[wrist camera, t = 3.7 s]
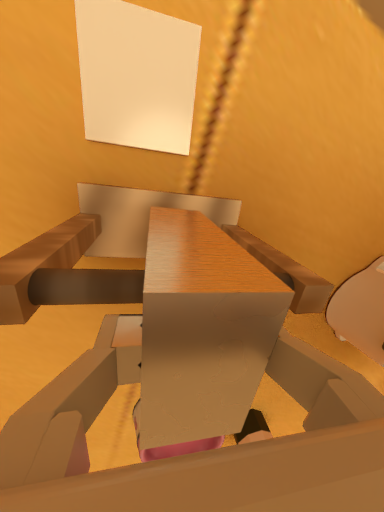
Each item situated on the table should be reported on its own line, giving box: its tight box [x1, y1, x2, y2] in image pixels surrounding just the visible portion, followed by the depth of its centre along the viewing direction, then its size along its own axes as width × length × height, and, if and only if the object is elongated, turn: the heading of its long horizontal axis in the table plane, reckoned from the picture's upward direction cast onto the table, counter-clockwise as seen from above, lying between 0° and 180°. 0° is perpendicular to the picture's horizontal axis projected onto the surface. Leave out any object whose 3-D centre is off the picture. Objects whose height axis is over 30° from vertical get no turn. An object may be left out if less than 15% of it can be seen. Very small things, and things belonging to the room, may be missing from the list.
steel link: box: [139, 206, 295, 450], centre depth 11 cm, size 4×7×12 cm, turn 173°
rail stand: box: [0, 182, 334, 325], centre depth 17 cm, size 18×8×16 cm, turn 83°
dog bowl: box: [133, 398, 225, 462], centre depth 36 cm, size 18×19×7 cm
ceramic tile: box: [75, 0, 202, 156], centre depth 18 cm, size 10×10×1 cm
